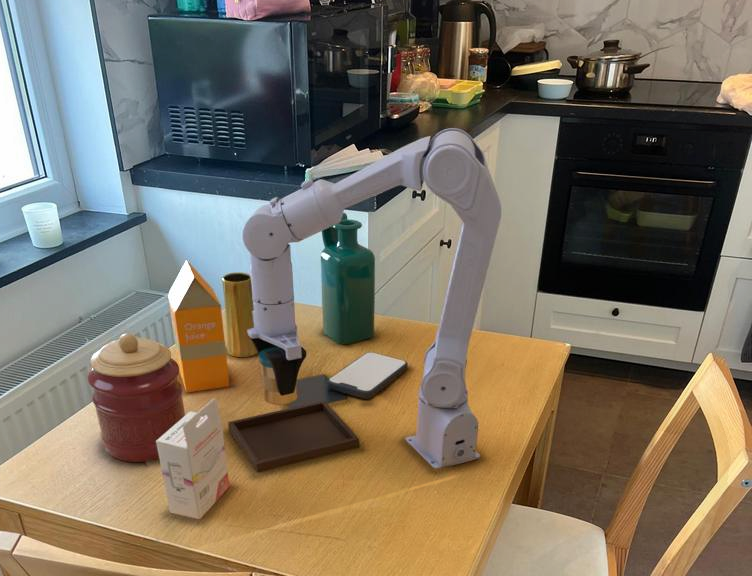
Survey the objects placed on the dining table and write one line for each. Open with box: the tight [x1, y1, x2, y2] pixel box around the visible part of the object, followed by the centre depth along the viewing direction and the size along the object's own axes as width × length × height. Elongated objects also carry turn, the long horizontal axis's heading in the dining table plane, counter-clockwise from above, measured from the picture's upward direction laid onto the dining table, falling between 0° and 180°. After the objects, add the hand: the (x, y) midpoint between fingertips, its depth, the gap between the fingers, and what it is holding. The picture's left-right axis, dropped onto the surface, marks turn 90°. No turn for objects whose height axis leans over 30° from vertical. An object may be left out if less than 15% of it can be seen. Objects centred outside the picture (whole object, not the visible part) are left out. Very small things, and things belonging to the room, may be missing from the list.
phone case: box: [327, 351, 409, 400], centre depth 136 cm, size 9×2×16 cm
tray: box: [227, 401, 360, 473], centre depth 119 cm, size 13×16×2 cm
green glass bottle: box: [320, 212, 376, 345], centre depth 147 cm, size 10×8×22 cm
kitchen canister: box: [87, 333, 186, 463], centre depth 114 cm, size 13×13×18 cm
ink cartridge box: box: [156, 397, 230, 520], centre depth 102 cm, size 9×5×15 cm, turn 160°
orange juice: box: [167, 259, 230, 393], centre depth 131 cm, size 8×9×20 cm
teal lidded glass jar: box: [258, 346, 298, 406], centre depth 114 cm, size 5×5×7 cm
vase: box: [221, 271, 258, 358], centre depth 142 cm, size 6×6×14 cm
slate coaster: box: [286, 373, 348, 409], centre depth 132 cm, size 10×10×1 cm
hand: (279, 385), depth 115 cm, fingers closed on teal lidded glass jar, 5 cm apart
